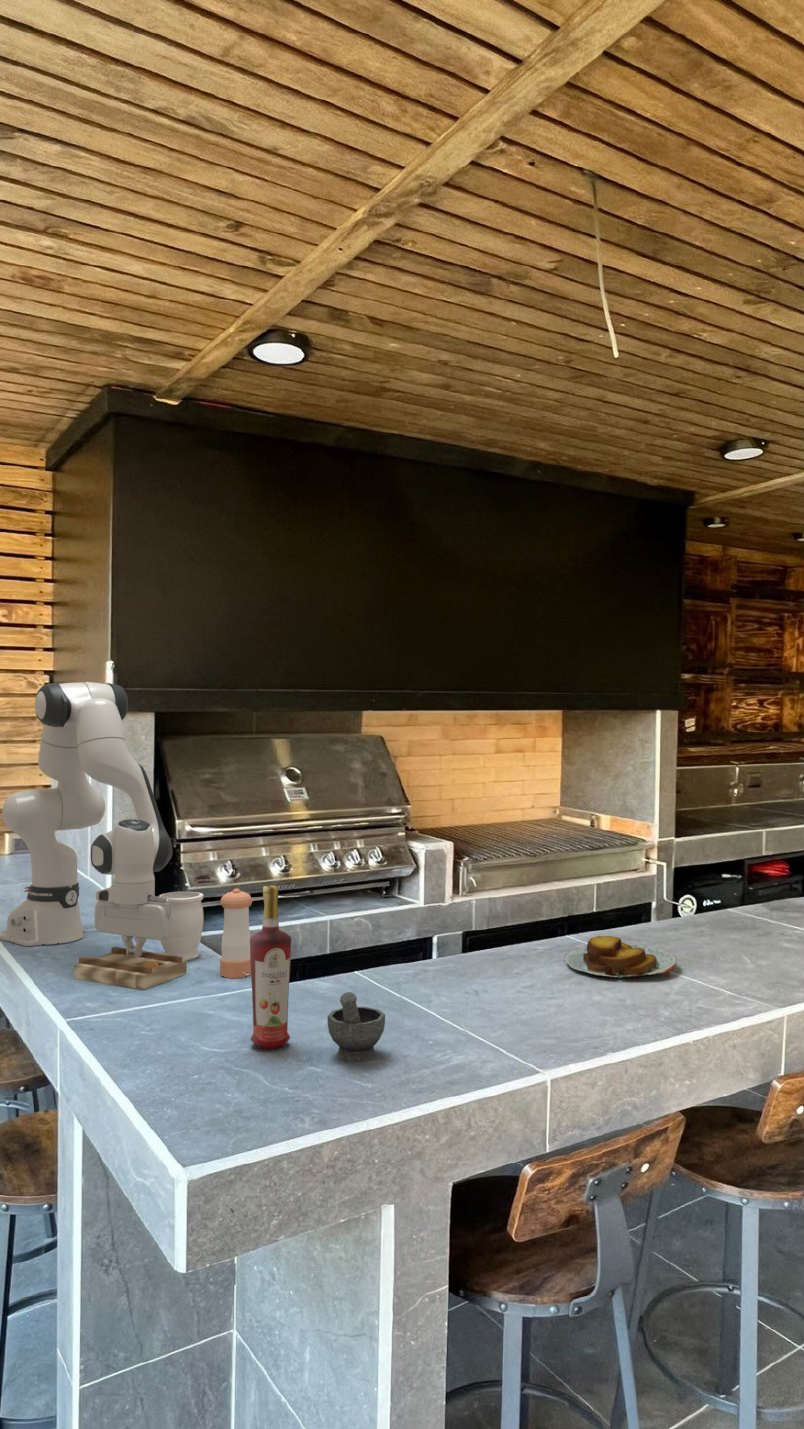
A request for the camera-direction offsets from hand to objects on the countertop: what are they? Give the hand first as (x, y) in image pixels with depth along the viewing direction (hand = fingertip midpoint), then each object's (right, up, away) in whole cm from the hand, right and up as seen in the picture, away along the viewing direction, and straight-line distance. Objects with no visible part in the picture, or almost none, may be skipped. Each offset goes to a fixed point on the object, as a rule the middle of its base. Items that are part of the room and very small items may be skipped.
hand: (134, 955), depth 211 cm
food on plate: (+110, -5, +9) cm, 111 cm away
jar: (+7, -5, +17) cm, 19 cm away
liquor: (+36, -5, -44) cm, 57 cm away
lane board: (-1, -5, +1) cm, 5 cm away
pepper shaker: (+22, -5, +2) cm, 23 cm away
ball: (+4, -3, -2) cm, 5 cm away
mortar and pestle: (+52, -5, -49) cm, 71 cm away
